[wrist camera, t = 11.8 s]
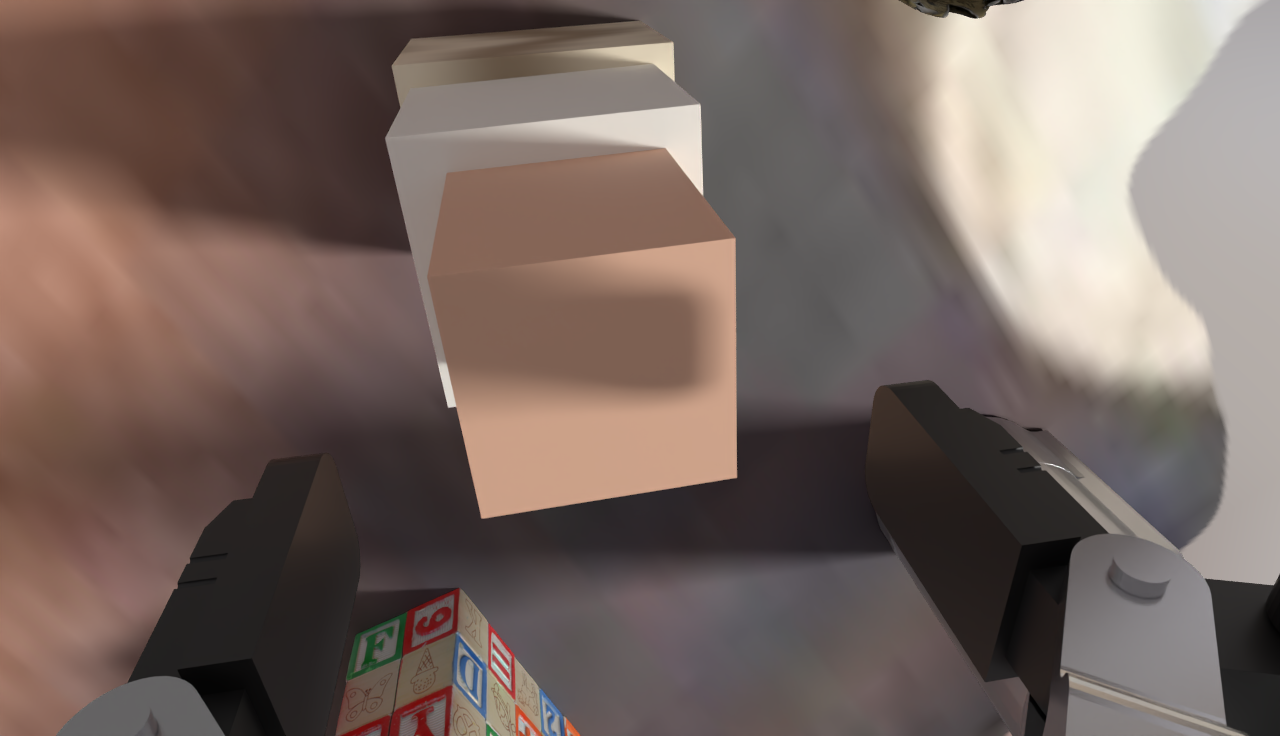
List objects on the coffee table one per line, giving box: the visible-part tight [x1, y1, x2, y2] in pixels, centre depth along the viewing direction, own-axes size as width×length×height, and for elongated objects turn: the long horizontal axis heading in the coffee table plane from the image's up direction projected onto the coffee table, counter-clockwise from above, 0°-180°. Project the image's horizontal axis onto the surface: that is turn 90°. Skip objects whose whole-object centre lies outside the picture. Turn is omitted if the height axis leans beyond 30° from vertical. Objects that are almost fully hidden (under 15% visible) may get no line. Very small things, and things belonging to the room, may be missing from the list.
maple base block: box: [392, 21, 675, 108], centre depth 27 cm, size 8×8×6 cm
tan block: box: [427, 148, 737, 519], centre depth 16 cm, size 5×5×6 cm
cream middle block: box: [385, 64, 703, 408], centre depth 21 cm, size 7×7×6 cm
